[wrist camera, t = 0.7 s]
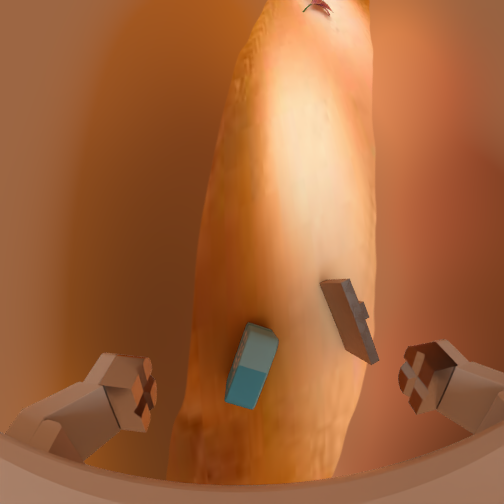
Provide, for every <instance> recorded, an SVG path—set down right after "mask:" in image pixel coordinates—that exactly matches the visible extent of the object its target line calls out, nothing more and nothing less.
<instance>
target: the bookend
mask: <svg viewBox="0 0 504 504" xmlns="http://www.w3.org/2000/svg"><path fill="white" fill-rule="evenodd" d="M320 286H321V288H322V291H323V293H324V296H325V298H326V301H327V303H328V306H329V308H330V311H331V313H332V316H333V318H334V321H335V323H336V326H337V328H338V331H339V334H340V336H341V339H342V341H343V344H344V347H345V349H346V350H347V351H349V352H350V353H352V354H354V355H355V356H357V357H359V358H360V359H362V360H364V361H365V362H367V363H369V364H371V365H372V364H374V363H376V362H377V361H379V358H378V355H377V352H376V349H375V346H374V343H373V340H372V337H371V335H370V332H369V329H368V326H367V323H366V321H365V319H367V318H369V315H368V313H367V310H366V307H365V305H364V302H362V301H358V299H357V297H356V294H355V291H354V289H353V286H352V284H351V281H350V279H334V280H325V281H323V282H321V283H320Z"/></svg>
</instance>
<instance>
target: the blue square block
mask: <svg viewBox="0 0 504 504" xmlns="http://www.w3.org/2000/svg"><path fill="white" fill-rule="evenodd" d="M278 343H279V340H278V338H277V337H276V335H275V334H274V333H273V331H272V330H271V329H268V328H265V327H262V326H259V325H256V324H253V323H250V322H248V323H247V325H246V327H245V330H244V333H243V336H242V339H241V341H240V344H239V347H238V350H237V353H236V356H235V358H234V361H233V364H232V367H231V370H230V373H229V375H228V379H227V384H226V392H225V402H227V403H231V404H234V405H237V406H241V407H244V408H248V409H254V407H255V406H256V403H257V401H258V398H259V396H260V393H261V391H262V388H263V385H264V383H265V380H266V378H267V375H268V372H269V370H270V367H271V364H272V362H273V359H274V356H275V353H276V351H277V347H278Z"/></svg>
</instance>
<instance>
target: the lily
mask: <svg viewBox="0 0 504 504" xmlns="http://www.w3.org/2000/svg"><path fill="white" fill-rule="evenodd" d="M311 4H316V5H319V6H321V7H323V8H324V7H325V8H324V9H325V10H326V11H327V12H328V10H327V9H329V10H331V8H330V7H329V6H328V5H327V4H326V3H325V2H324V1H322V0H312V3H311ZM311 4H310V5H311ZM310 5H308V6H307V7H306V8H305V9H304V11H305V10H306V9H307V8H308V7H309V6H310ZM326 8H327V9H326ZM304 11H303V12H304ZM331 11H332V10H331ZM332 12H333V11H332ZM328 14H329V12H328ZM329 15H330V14H329Z"/></svg>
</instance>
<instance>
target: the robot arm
mask: <svg viewBox="0 0 504 504" xmlns="http://www.w3.org/2000/svg"><path fill="white" fill-rule="evenodd" d="M404 358H405V361H406V362H405V363H404V364H403V365H402V367H401V368H400V371H399V375H398V381H399V386H400V389H401V391H402V392H403V394H405V395H407V396H409V401H408V402H409V404H410V405H411V407H412V409H413V410H414V412H415V413H416V414H421V413H425V412H428V411H432V410H436V409H437V411H438V412H440V413H441V414H443V415H444V416H446V417H448V418H449V419H451V420H452V421H454V422H455V423H457V424H459V425H460V426H462V427H463V428H465V429H467V430H468V431H470V432H471V433H473V434H474V435H472V436H470V437H468V438H466V439H463V440H461V441H459V442H456V443H454V444H452V445H449V446H447V447H444V448H441V449H439V450H436V451H433V452H431V453H428V454H425V455H422V456H419V457H416V458H413V459H410V460H407V461H403V462H400V463H397V464H393V465H389V466H386V467H382V468H378V469H374V470H370V471H365V472H361V473H356V474H351V475H346V476H340V477H335V478H328V479H322V480H314V481H306V482H297V483H286V484H272V485H207V484H192V483H181V482H172V481H164V480H157V479H150V478H144V477H138V476H132V475H127V474H122V473H118V472H113V471H109V470H105V469H101V468H97V467H93V466H89V465H86V464H85V463H84V462H83V461H84V460H85V459H86V458H88V457H89V456H90V455H92V454H93V453H94V452H95V451H96V450H97V449H99V448H100V447H101V446H102V445H104V444H105V443H106V442H107V441H109V439H111V438H112V437H113V436H115V435H116V434H117V433H118V432H119V431H120V429H122V430H130V431H138V432H146V431H147V428H148V425H149V422H150V419H151V415H150V412H149V411H150V410H151V409H152V408H154V406H155V403H156V397H157V389H156V382H155V379H154V378H153V377H152V376H151V375H150V373H151V371H152V365H151V361H150V359H149V358H148V357H140V356H130V355H121V354H113V353H103V354H101V356H100V357H99V359H98V360H97V362H96V363H95V365H94V366H93V368H92V370H91V371H90V373H89V374H88V376H87V377H86V379H85V380H84V382H77V383H75V384H73V385H72V386H69V387H68V388H65V389H64V390H61V391H59V392H57V393H55V394H53V395H51V396H49V397H47V398H45V399H43V400H41V401H39V402H37V403H34V404H32V405H30V406H28V407H26V408H24V409H22V410H21V412H20V413H19V415H18V416H17V417H16V419H15V420H14V421H13V423H12V424H11V426H10V427H9V429H8V430H7V431H6V433H5V434H3V433H1V432H0V504H504V373H502V372H500V371H497V370H494V369H491V368H488V367H486V366H483V365H480V364H478V363H475V362H469V361H468V360H467V359H466V358H465V357H464V356H463V355H462V354H461V353H460V352H459V351H458V350H457V349H456V348H455V347H454V346H453V345H452V344H451V343H450V342H449V341H448V340H445V339H442V340H437V341H433V342H430V343H425V344H419V345H414V346H408V348H407V349H406V351H405V354H404Z"/></svg>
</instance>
